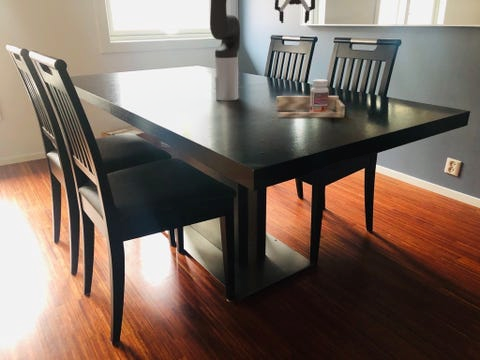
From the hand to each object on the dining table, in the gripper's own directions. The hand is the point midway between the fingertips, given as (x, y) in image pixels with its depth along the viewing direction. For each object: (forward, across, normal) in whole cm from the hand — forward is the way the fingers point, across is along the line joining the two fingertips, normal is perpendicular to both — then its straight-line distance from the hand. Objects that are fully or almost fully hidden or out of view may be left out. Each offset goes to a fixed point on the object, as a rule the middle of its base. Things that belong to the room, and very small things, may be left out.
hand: (294, 22), depth 142 cm
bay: (+30, +5, -14) cm, 33 cm away
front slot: (+30, +10, -14) cm, 34 cm away
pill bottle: (+30, +9, -13) cm, 34 cm away
